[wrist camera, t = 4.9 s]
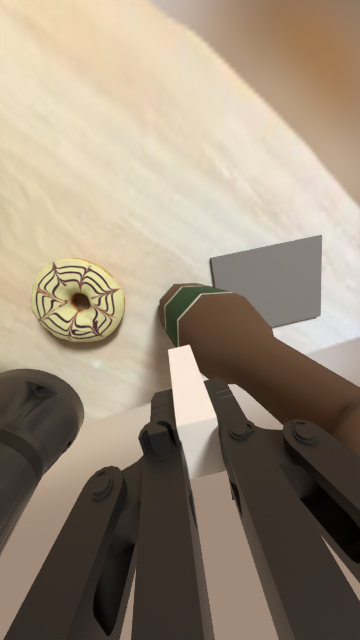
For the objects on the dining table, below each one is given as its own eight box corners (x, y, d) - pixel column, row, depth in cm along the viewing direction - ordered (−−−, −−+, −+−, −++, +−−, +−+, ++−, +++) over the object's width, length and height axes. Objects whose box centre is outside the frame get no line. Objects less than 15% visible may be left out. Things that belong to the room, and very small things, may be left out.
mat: (221, 337, 31) (222, 338, 30) (210, 258, 27) (211, 258, 27) (317, 315, 32) (320, 315, 31) (319, 235, 28) (321, 235, 28)
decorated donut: (113, 345, 29) (107, 357, 26) (35, 320, 27) (17, 330, 23) (136, 279, 27) (133, 281, 23) (54, 246, 25) (36, 243, 21)
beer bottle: (147, 295, 26) (263, 463, 4) (198, 271, 27) (521, 298, 5) (170, 343, 29) (319, 602, 7) (216, 319, 30) (480, 477, 8)
